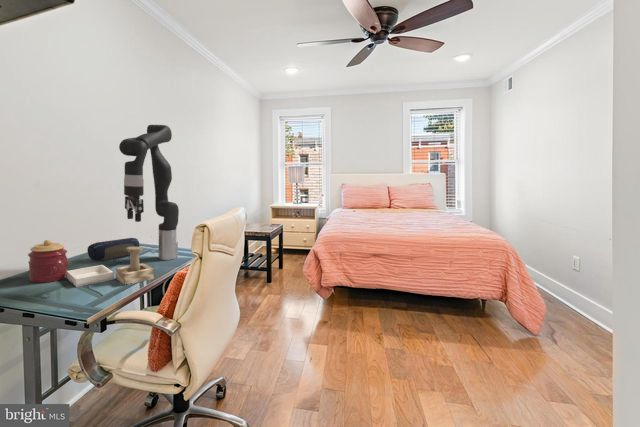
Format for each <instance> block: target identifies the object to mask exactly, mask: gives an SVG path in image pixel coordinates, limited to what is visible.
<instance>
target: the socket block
mask: <svg viewBox="0 0 640 427" xmlns="http://www.w3.org/2000/svg"><path fill="white" fill-rule="evenodd" d="M154 270H155V269H154V268H153V267H151V266H149V265H148V264H145V263H140V270H138V271H133V272H130V265H127V266H121V267H116V268H115V279H116V280H118V281H119V282H120V283H121V284H123V285H124V284H125V285H124V286H127V285H126V284H129V285H133V284H137V283H141V282H146V281H150V280H154V277H155V276H154V274H155V273H154V272H155V271H154ZM130 283H132V284H130Z"/></svg>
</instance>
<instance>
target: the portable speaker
mask: <svg viewBox="0 0 640 427" xmlns="http://www.w3.org/2000/svg"><path fill="white" fill-rule="evenodd" d="M128 247H140V241H139V239H137V238H135V237H128V238H120V239H119V238H118V239H112V240H111V239H110V240H105V241H100V242H99V241H98V242H94V243H91V244H90V245H89V246H88V247H87V254H88V257H89V259H90V260H92V261H99V260H100V261H104V260H110V259H116V258H121V257H126V256H131V255H130V252H128V251H127V248H128Z"/></svg>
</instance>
